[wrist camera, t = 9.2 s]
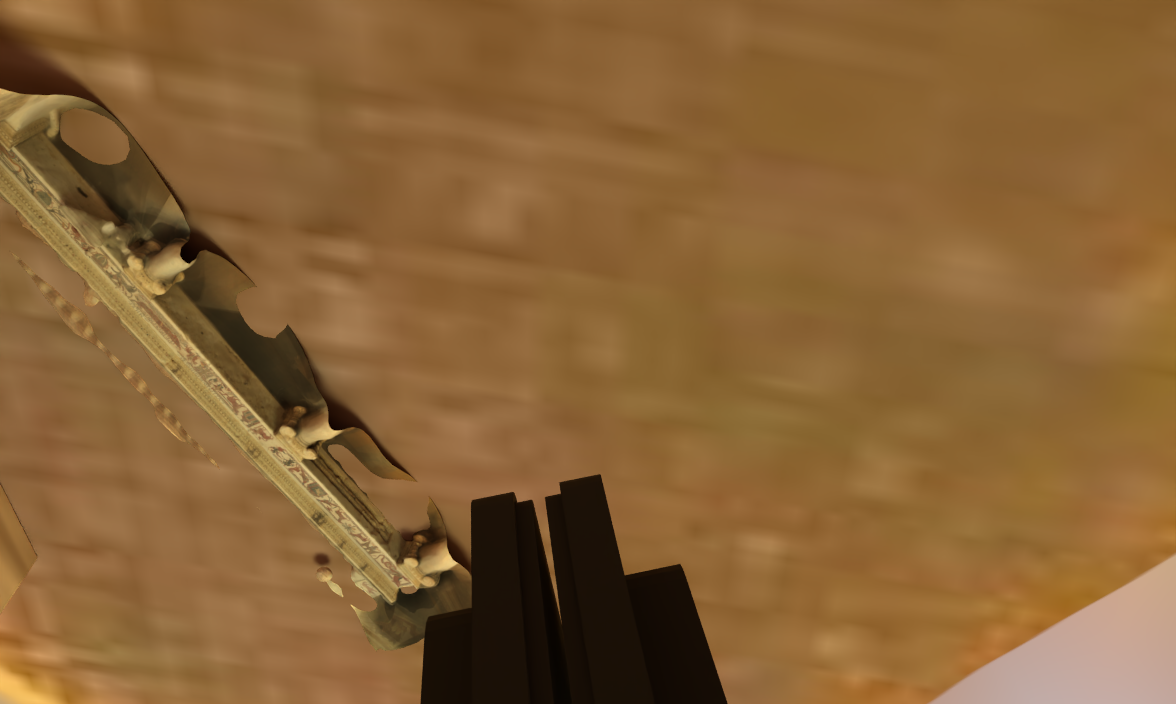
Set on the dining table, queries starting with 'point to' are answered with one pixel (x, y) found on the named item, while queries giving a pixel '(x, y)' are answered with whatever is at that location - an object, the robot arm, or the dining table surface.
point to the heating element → (216, 355)
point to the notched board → (12, 551)
